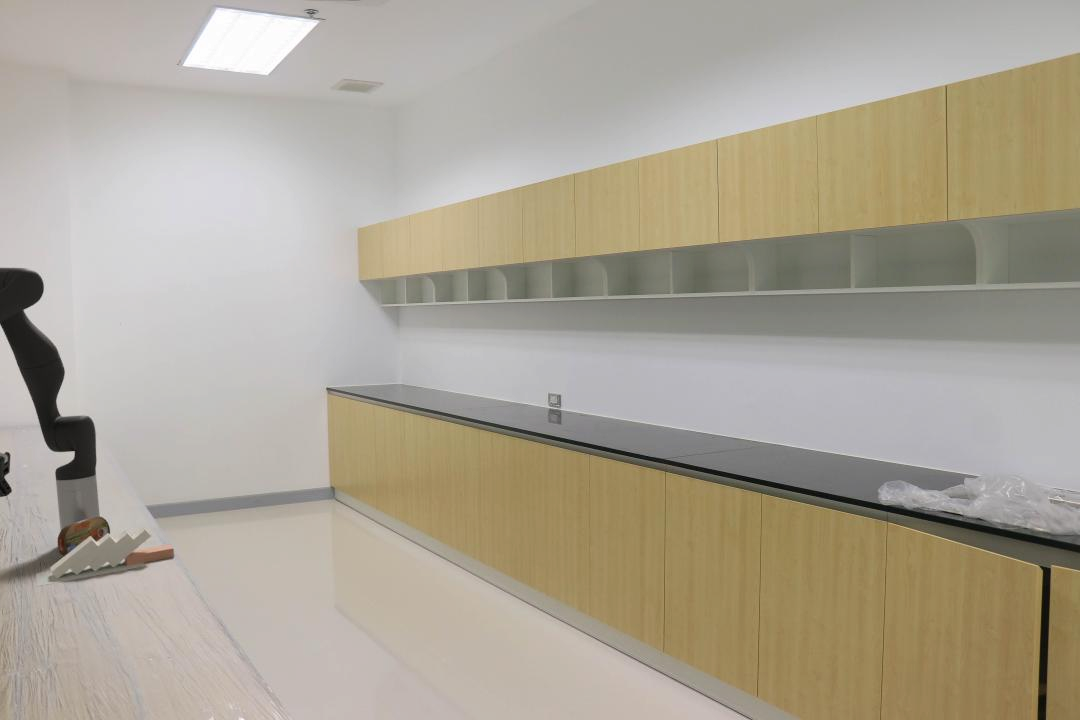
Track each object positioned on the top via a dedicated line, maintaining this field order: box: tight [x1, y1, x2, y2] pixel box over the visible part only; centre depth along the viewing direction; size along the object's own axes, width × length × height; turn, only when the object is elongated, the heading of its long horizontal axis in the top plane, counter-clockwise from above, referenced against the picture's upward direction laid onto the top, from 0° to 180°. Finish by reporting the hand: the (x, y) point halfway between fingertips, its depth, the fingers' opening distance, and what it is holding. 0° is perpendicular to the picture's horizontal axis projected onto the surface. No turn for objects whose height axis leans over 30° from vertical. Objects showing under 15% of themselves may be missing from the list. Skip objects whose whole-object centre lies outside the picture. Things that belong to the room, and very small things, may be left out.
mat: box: [36, 558, 146, 587], centre depth 187 cm, size 12×21×1 cm, turn 122°
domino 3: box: [89, 529, 133, 571], centre depth 189 cm, size 5×2×10 cm
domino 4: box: [107, 525, 152, 568], centre depth 191 cm, size 5×2×10 cm
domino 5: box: [125, 544, 175, 566], centre depth 193 cm, size 5×2×10 cm
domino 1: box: [50, 536, 98, 579], centre depth 185 cm, size 5×2×10 cm
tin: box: [57, 516, 111, 558], centre depth 204 cm, size 15×3×8 cm, turn 168°
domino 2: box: [70, 533, 116, 575], centre depth 187 cm, size 5×2×10 cm
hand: (6, 494), depth 182 cm, fingers closed
